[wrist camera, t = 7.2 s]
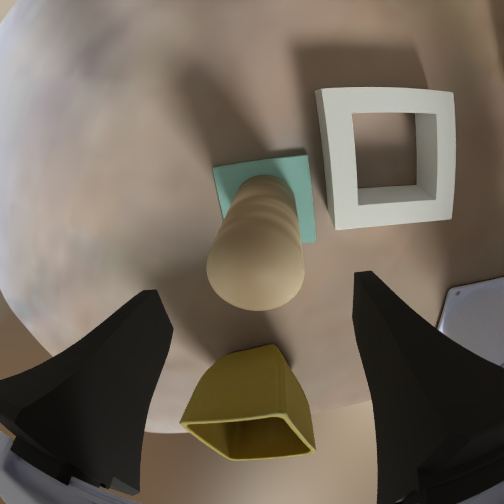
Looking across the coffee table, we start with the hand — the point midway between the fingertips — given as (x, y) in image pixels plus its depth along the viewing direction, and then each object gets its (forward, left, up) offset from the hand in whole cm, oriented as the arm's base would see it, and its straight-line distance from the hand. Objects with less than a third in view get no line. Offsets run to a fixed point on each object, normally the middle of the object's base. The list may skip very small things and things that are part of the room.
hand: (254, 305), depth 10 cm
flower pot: (+3, +16, -10) cm, 19 cm away
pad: (0, 0, -10) cm, 10 cm away
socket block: (-8, -3, -10) cm, 13 cm away
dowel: (0, 0, -10) cm, 10 cm away
